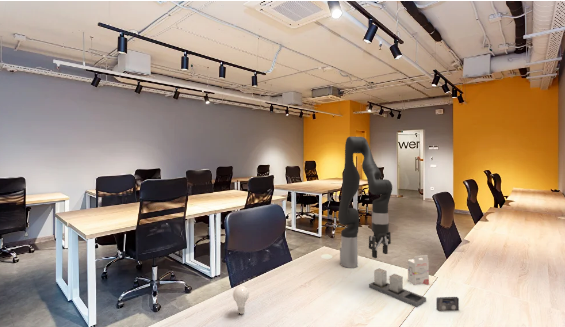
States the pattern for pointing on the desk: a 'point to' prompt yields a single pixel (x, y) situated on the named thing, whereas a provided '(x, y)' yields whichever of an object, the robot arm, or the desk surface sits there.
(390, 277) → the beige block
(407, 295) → the rail
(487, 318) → the desk surface
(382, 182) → the robot arm
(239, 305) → the lightbulb
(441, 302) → the mini dv tape
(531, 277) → the desk surface
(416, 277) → the ink cartridge box
